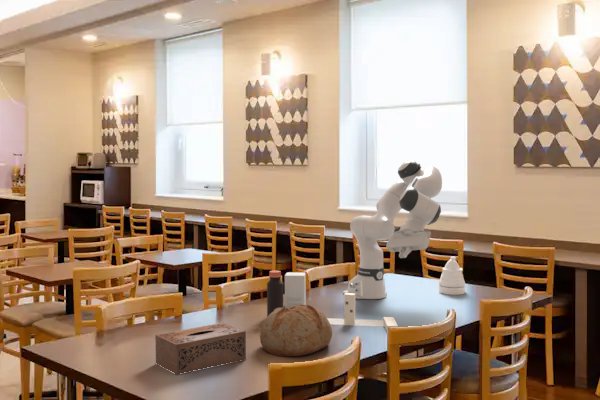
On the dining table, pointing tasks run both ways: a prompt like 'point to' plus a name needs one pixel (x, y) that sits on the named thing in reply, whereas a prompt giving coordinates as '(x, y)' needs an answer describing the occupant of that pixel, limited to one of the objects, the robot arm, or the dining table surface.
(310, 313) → the bread
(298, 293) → the supplement box
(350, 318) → the tile two
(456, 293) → the honey pot
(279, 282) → the bottle
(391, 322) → the tile one
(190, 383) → the dining table surface
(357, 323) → the felt strip
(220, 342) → the tissue box cover
